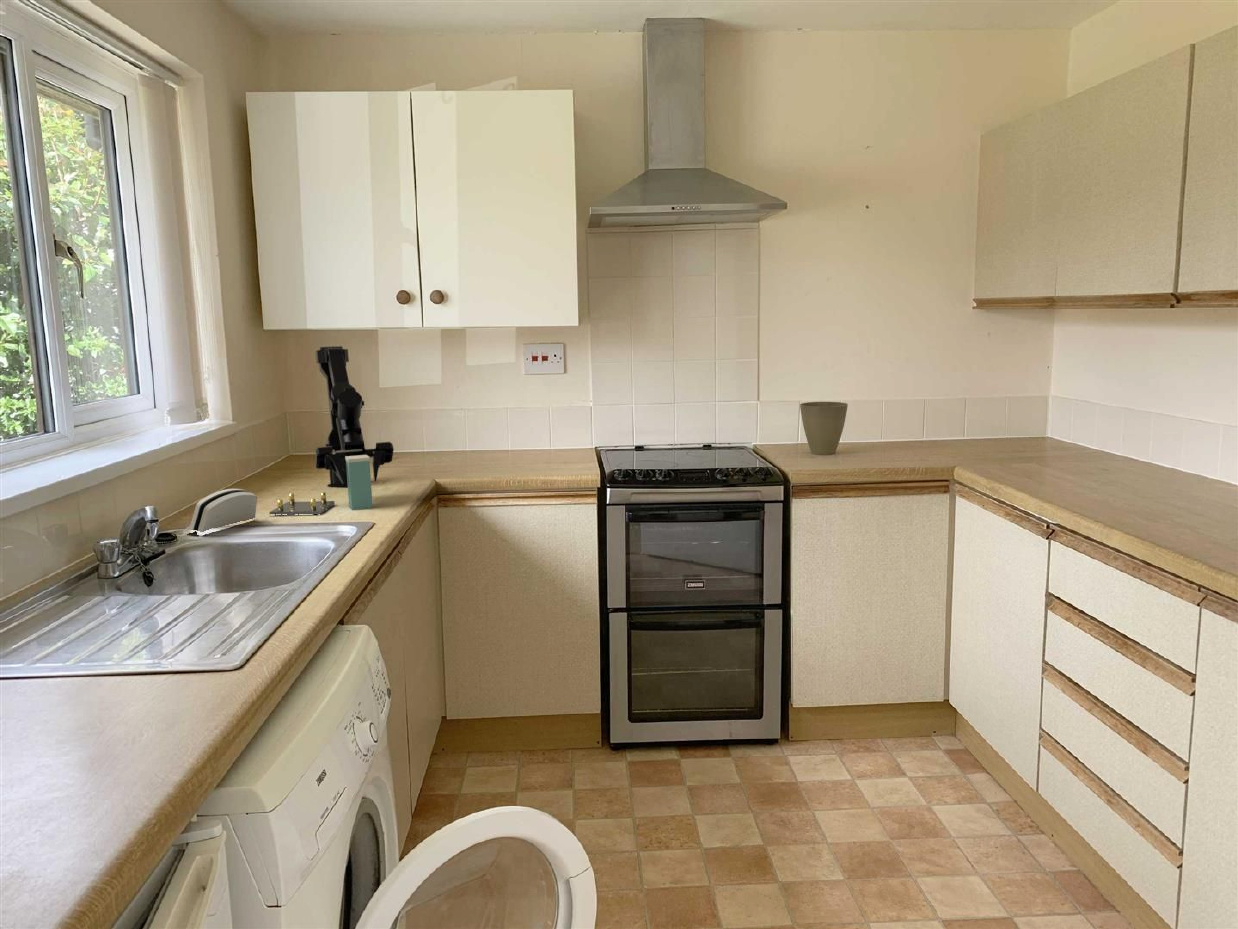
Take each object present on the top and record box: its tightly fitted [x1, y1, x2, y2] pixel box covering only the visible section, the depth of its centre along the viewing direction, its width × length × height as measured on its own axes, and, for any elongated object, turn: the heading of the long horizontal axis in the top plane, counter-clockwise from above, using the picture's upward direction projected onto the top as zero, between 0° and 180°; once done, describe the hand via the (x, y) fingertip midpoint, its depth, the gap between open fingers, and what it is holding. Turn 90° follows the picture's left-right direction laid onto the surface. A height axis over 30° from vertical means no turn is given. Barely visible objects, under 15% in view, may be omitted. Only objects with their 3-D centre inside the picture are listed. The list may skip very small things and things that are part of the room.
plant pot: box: [799, 401, 849, 456], centre depth 295 cm, size 15×15×16 cm
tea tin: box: [345, 455, 374, 511], centre depth 229 cm, size 5×5×13 cm
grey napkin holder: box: [185, 488, 258, 532], centre depth 210 cm, size 17×5×10 cm, turn 159°
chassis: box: [269, 492, 335, 515], centre depth 227 cm, size 12×12×4 cm
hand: (359, 481), depth 227 cm, fingers open, 7 cm apart
